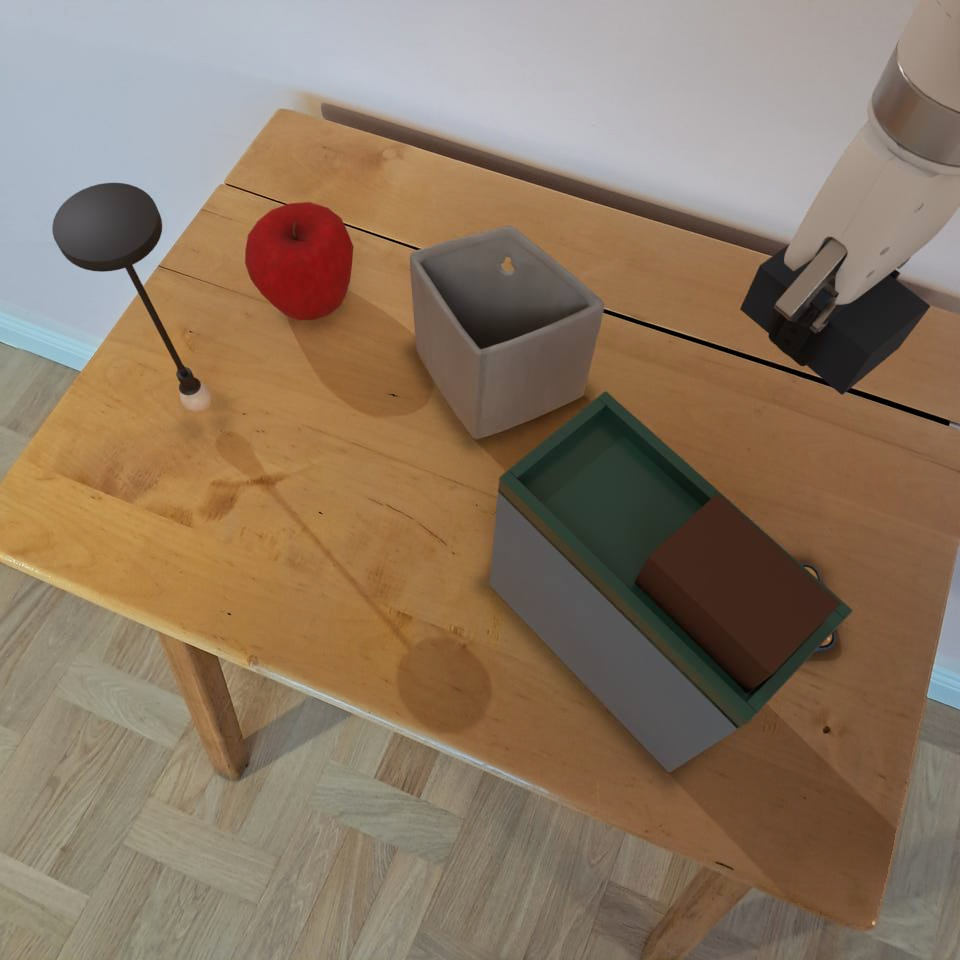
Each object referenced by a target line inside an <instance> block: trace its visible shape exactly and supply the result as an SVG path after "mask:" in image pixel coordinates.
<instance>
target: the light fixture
mask: <svg viewBox="0 0 960 960" xmlns="http://www.w3.org/2000/svg"><path fill="white" fill-rule="evenodd" d="M51 231H52V236H53V239H54V241H55V243H56V245H57V247H58V249H59V250H60V252H61V253H62V255H63V256H64V257H65V259H66V260H67V261H69V262H70V263H71V264H72V265H75V266H76V267H79V268H81V269H83V270H86V271H91V272H100V273H103V272H114V271H119V270H123V269H125V271H126V273H127V274H128V276H129V278H130V280H131V282H132V284H133V287H134V288H135V289H136V290H135V291H137V293H138V295H139V297H140V299H141V301H142V303H143V305H144V306H145V309H146V311H147V312H148V314H149V317H150V318H151V320H152V322H153V324H154V326H155V328H156V330H157V333H158V334H159V335H160V337H161V340H162V341H163V343H164V345H165V347H166V349H167V351H168V353H169V355H170V357H171V358H172V360H173V362H174V364H175V366H176V373H175V376H176V378H177V380H178V381H179V384H178V391H179V395H178V396H179V397H178V398H179V400H180V403H181V406H182V407H184V408H185V409H186V410H187V411H189V412H192V413H199V412H203V411H205V410H206V409H208V408H209V406H210V405H211V403H212V401H213V400H212V399H213V394H212V390H211V389H210V387H209V386H208V385H207V384H206V383H203V382H202V381H201V380H200V379H198V378H197V377H195V376H194V374H193V371H192V369H191V368H189V367H187V366H185V365H184V364H183V362H182V360H181V358H180V356H179V354H178V352H177V350H176V348H175V346H174V344H173V342H172V340H171V338H170V336H169V333H168V332H167V330H166V328H165V326H164V325H163V323H162V321H161V318H160V316H159V315H158V313H157V311H156V309H155V306H154V304H153V303H152V301H151V299H150V296H149V294H148V293H147V291H146V289H145V287H144V285H143V283H142V281H141V279H140V277H139V276H138V275H139V274H138V273H137V271H136V269H135V267H134V266H133V265H135V264H137V263H139V262H140V261H142V260H143V259H145V258H146V257H147V256H148V255H150V254H151V252H152V251H154V249H155V248H156V246H157V245H158V243H159V242H160V240H161V237H162V233H163V219H162V216H161V214H160V211H159V209H158V206H157V204H156V202H155V201H154V199H153V198H152V197H151V195H150V194H149V193H148V192H146V191H144V189H142V188H140V187H138V186H135V185H132V184H129V183H123V182H104V183H98V184H94V185H91V186H88V187H86V188H83V189H81V190H79V191H77V192H76V193H74V194H72V195H71V196H69V197H68V198H67V200H65V201H64V202H63V203H62V204H61V205H60V207H59V208H58V210H57V211H56V213H55V215H54V217H53V221H52V230H51Z"/></svg>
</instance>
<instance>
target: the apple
mask: <svg viewBox="0 0 960 960" xmlns="http://www.w3.org/2000/svg"><path fill="white" fill-rule="evenodd" d="M246 239H247V240H246V245H245V253H244V255H245V257H244V264H245V267H246V270H247V272H248V276H249V279H250V280H251V282H252V283H253V285H254V286H255V288H256V289H257V290H258V292H259V293H260V295H261V296H263V297H264V298H265V299H266V300H267V301H268V302H269V303H270V304H271V305H272V306H274V307H275V308H276V309H277V310H279V311H280V312H281V313H282V314H283V315H284V316H287V317H289V318H292V319H295V320H297V321H314V320H317V319H320V318H324V317H327V316H329V315H331V314H332V313H333V312H334V311H336V310H338V309H339V308H340V307H341V305H342V303H343V301H344V299H345V298H346V296H347V293H348V289H349V285H350V282H351V277H352V276H351V275H352V268H353V257H354V244H353V242H352V239H351V237H350V234H349V232H348V230H347V227H346V225H345V222H344V221H343V218H342V217H340V216H339V215H338V214H337V213H335V212H334V211H332V209H330V208H329V207H327V206H324V205H320V204H317V203H314V202H311V201H303V202H291V203H290V202H289V203H286V204H284V205H281V206H278V207H275V208H273V209H270V210H269V211H267V213H265V214H264V215H263V216H261V218H260V219H258V220H257V221H256V223H255V224H254V225H253V227H252V229H250V231H249V233H248V234H247V238H246Z"/></svg>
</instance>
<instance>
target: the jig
mask: <svg viewBox="0 0 960 960" xmlns="http://www.w3.org/2000/svg"><path fill="white" fill-rule="evenodd" d="M498 492H499V493H500V494H501V495H502V496H503V497H504V498H505V499H506V500H507V501H508V502H509V503H510V504H511V505H512V506H513V507H514V508H515V509H516V510H517V511H518V512H519V513H520V514H521V515H522V516H523V517H524V518H525V519H526V520H527V521H528V522H529V523H530V524H531V525H532V526H533V527H534V528H535V529H536V530H537V531H538V532H539V533H540V534H541V535H542V536H543V537H544V538H545V539H546V540H547V541H548V542H549V543H550V544H551V545H552V546H553V547H554V548H555V549H556V550H557V551H558V552H559V553H560V554H561V555H562V556H563V557H564V558H565V559H566V560H567V561H568V562H569V563H570V564H571V565H572V566H573V567H574V568H575V569H576V570H577V571H578V572H579V573H580V574H581V575H583V576H584V577H585V578H586V579H587V580H588V581H589V582H590V583H591V584H592V585H593V586H594V587H595V588H596V589H597V590H598V591H599V592H600V593H601V594H602V595H603V596H604V597H605V598H606V599H607V600H608V601H609V602H610V603H611V604H612V605H613V606H614V607H615V608H616V609H617V610H618V611H619V612H620V613H621V614H622V615H623V616H624V617H625V618H626V619H627V620H628V621H629V622H630V623H631V624H632V625H633V626H634V627H635V628H636V629H637V630H638V631H639V632H640V633H641V634H642V635H643V636H644V637H645V638H646V639H647V640H648V641H649V642H650V643H651V644H652V645H653V646H654V647H655V648H656V649H657V650H658V651H659V652H660V653H661V654H662V655H663V656H664V657H665V658H666V659H667V660H668V661H669V662H670V663H671V664H672V665H673V666H674V667H675V668H676V669H677V670H678V671H679V672H680V673H681V674H682V675H683V676H684V677H685V678H686V679H687V680H688V681H689V682H690V683H691V684H692V685H693V686H694V687H695V688H696V689H697V690H698V691H699V692H700V693H701V694H702V695H703V696H704V697H705V698H706V699H707V700H708V701H709V702H711V703H712V704H713V705H714V706H715V707H716V708H717V709H718V710H719V711H720V712H721V713H722V714H723V715H724V716H725V717H726V718H727V719H728V720H729V721H730V722H731V723H732V724H733V725H734V726H735V727H736V728H737V730H739V729H740V728H742V727H743V726H744V725H747V724H748V723H749V722H751V720H753V718H754V717H755V716H756V715H757V714H758V713H759V712H760V711H761V710H762V708H763V707H765V705H767V703H769V701H770V700H771V699H772V698H773V697H774V696H775V695H776V694H777V693H778V692H779V690H780V689H781V688H782V687H783V686H784V685H785V684H787V682H788V681H789V680H790V679H791V678H792V677H793V676H794V675H795V674H796V673H797V672H798V670H799V669H801V667H802V666H803V665H805V663H806V662H807V661H808V660H809V658H811V656H813V655H814V653H816V652H815V651H816V650H817V649H818V648H819V647H820V646H821V645H822V644H823V642H824V641H825V640H826V639H827V638H828V637H829V636H830V635H831V634H832V633H833V632H835V631H836V630H837V629H838V628H839V627H840V626H841V625H842V624H843V622H844V621H845V620H846V619H847V618H848V617H849V616H850V615H851V614H852V613H853V609H852V608H851V607H850V606H849V605H848V604H847V603H845V602H844V601H843V600H842V599H841V598H840V597H838V596H837V594H835V593H834V592H833V591H832V590H831V589H830V588H829V587H827V586H826V585H825V584H824V583H823V582H822V581H821V582H820V581H819V580H818V579H817V578H816V577H815V576H814V575H813V574H811V573H810V572H809V571H808V570H807V569H806V568H805V567H804V566H802V565H801V564H802V563H800V562H799V561H798V560H797V559H796V558H795V557H793V556H792V554H790V553H789V552H788V551H787V550H786V549H784V547H782V546H781V545H780V544H779V543H778V542H777V541H776V540H774V538H773V537H772V536H770V535H769V534H768V533H767V532H765V530H764V529H762V528H761V527H760V526H758V524H757V523H756V522H754V521H753V520H752V519H751V518H750V517H749V516H747V515H746V514H745V513H744V512H743V511H742V510H741V509H739V508H738V506H736V505H735V504H734V503H733V502H732V501H730V500H729V499H728V498H727V497H726V496H725V495H724V494H723V493H722V492H721V491H719V490H718V489H717V488H716V487H715V486H714V485H712V484H711V483H710V482H709V481H708V480H707V479H705V477H704V476H702V475H701V473H699V472H698V471H697V470H696V469H694V467H692V466H691V464H689V463H688V462H687V461H686V460H684V458H682V457H681V456H680V455H679V454H678V453H677V452H675V451H674V450H673V449H672V448H671V447H670V446H668V444H666V443H665V442H664V441H663V440H662V439H661V438H660V437H659V436H657V435H656V434H655V433H654V432H653V431H652V430H651V429H649V428H648V427H647V426H646V424H644V423H643V422H641V420H639V419H638V418H637V417H636V416H635V415H634V414H632V413H631V412H630V411H629V410H628V409H627V408H626V407H625V406H624V405H622V404H621V403H620V402H619V401H618V400H617V399H616V398H615V397H613V396H612V395H611V394H610V393H609V392H608V391H607V390H604V391H603V392H602V393H601V394H600V395H598V396H597V397H596V398H595V399H594V400H592V401H591V402H590V403H588V404H587V405H586V406H585V407H583V409H581V410H579V412H577V413H576V414H574V416H573V417H572V418H569V420H567V421H566V422H565V423H564V424H563V425H561V426H560V427H559V428H558V429H556V431H553V433H552V434H550V435H549V436H548V437H547V438H545V439H544V440H543V441H541V442H540V443H539V444H538V445H537V446H536V447H534V448H533V449H532V450H530V451H529V452H527V454H526V455H524V456H523V457H522V458H520V460H518V461H517V462H516V463H515V464H514V465H512V466H511V467H510V468H509V469H508V470H506V471H505V472H504V473H503V474H501V475H500V476H499V477H498V487H497V493H498ZM717 493H719V494H720V495H721V496H722V497H723V498H724V499H725V500H727V501H728V502H729V503H730V504H731V505H732V506H733V507H734V508H736V509H737V510H738V511H739V512H740V513H741V514H742V515H743V516H744V517H746V518H747V519H748V520H749V521H750V522H751V523H752V524H753V525H754V526H756V527H757V528H758V529H759V530H760V531H761V532H762V533H763V534H765V535H766V536H767V537H768V538H769V539H770V540H771V541H772V542H773V543H775V544H776V545H777V546H778V547H779V548H780V549H781V550H782V551H783V552H785V553H786V554H787V555H788V556H789V557H790V558H791V559H792V560H793V561H795V562H796V563H797V564H798V565H799V566H800V567H801V568H802V569H804V570H805V571H806V572H807V573H808V574H809V575H810V576H811V577H812V578H814V579H815V580H816V581H817V582H818V583H819V584H820V585H821V586H822V587H824V588H825V589H826V590H827V591H828V592H829V593H830V594H831V595H833V596H834V597H835V598H836V599H837V600H838V601H839V602H840V605H839V606H838V607H837V608H836V609H835V610H834V611H833V612H832V613H831V614H830V615H829V616H828V617H827V618H826V619H825V620H824V621H823V622H822V623H821V624H820V626H819V627H818V628H817V629H816V630H815V631H814V632H813V633H812V634H811V635H810V636H809V637H808V638H807V639H806V640H805V641H804V642H803V643H802V644H801V645H800V646H799V647H798V648H797V649H796V650H795V652H794V653H793V654H792V655H791V656H790V657H789V658H788V659H787V660H786V661H785V662H784V663H783V664H782V665H781V666H780V667H779V668H778V669H777V670H776V671H775V672H774V673H773V674H772V675H771V676H770V677H768V678H767V679H766V680H764V681H763V682H761V683H760V684H759V685H757V686H756V687H755V688H753V689H752V690H751V691H749V692H748V693H747V692H745V691H744V690H743V689H742V688H741V687H740V686H739V685H738V684H737V683H736V682H735V681H734V680H733V679H732V678H731V677H730V676H729V675H728V674H727V673H726V672H725V671H724V670H723V669H722V668H721V667H720V666H719V665H718V664H717V663H716V662H715V661H714V660H713V659H712V658H711V657H710V656H709V655H708V654H707V653H706V652H705V651H704V650H703V649H701V648H700V647H699V646H698V645H697V644H696V643H695V642H694V641H693V640H692V639H691V638H690V637H689V636H688V635H687V634H686V633H685V632H684V631H683V630H682V629H681V628H680V627H679V626H678V625H677V624H676V623H675V622H674V621H673V620H672V619H671V618H670V617H669V616H668V615H667V614H666V613H665V612H664V611H663V610H662V609H661V608H660V607H659V606H658V605H657V604H656V603H654V602H653V601H652V600H651V599H650V598H649V597H648V596H647V595H646V594H645V593H644V592H643V591H642V590H641V589H640V588H639V587H638V586H637V585H636V584H635V580H636V578H637V576H638V574H639V573H640V571H641V569H642V567H643V565H644V563H645V562H646V560H647V558H648V556H649V555H650V554H651V553H652V552H653V551H654V550H655V549H656V548H657V547H659V546H660V545H661V544H662V543H663V542H664V541H665V540H666V539H667V538H668V537H670V536H671V535H672V534H673V533H674V532H675V531H676V530H677V529H678V528H679V527H681V526H682V525H683V524H684V523H685V522H686V521H687V520H688V519H689V518H690V517H692V516H693V515H694V514H695V513H696V512H697V511H698V510H699V509H700V508H701V507H703V506H704V505H705V504H706V503H707V502H708V501H709V500H710V499H711V498H712V497H714V496H715V495H716V494H717Z"/></svg>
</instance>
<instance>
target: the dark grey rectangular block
mask: <svg viewBox="0 0 960 960" xmlns="http://www.w3.org/2000/svg"><path fill="white" fill-rule="evenodd" d="M789 245H790V243H788V244H787V245H785V246H784V247H783V248H782V249H780V250H779V251H778V252H776V253H774V255H772V256H770V257H769V258H767V259H766V260H765V261H764V262H763V263H761V264H759V265H758V266H759V267H758V268H757V271H756V273H755V275H754V277H753V280H752V281H751V283H750V286H749V288H748V290H747V293H746V295H745V297H744V300H743V301H742V304H741V306H740V308H739V310H740V311H741V312H742V313H743V314H745V315H746V316H747V317H748V318H750V319H751V320H752V321H753V322H754V323H755V324H757V325H758V326H759V327H760V328H761V329H762V330H764V331H765V332H766V333H767V334H769V333H770V331H771V329H772V327H773V325H774V323H775V321H776V319H777V317H778V315H779V313H780V312H779V311H777V310H776V309H775V308H774V305H775V304H776V302H777V301H778V300H779V299H780V297H781V296H782V295H783V294H784V293H785V292H786V290H787V289H788V288H789V287H790V286H791V285H792V284H793V282H794V281H795V280H796V279H797V278H798V277H799V275H800V274H801V273H802V272H803V271H804V270H805V268H806V267H807V266H808V265H809V264H810V263H811V262H812V260H813V259H814V258H813V259H812V260H810V261H809V262H807V263H806V264H804V265H803V266H801V267H800V268H798V269H797V270H795V271H793V270H791V269H790V268H789V267H788V266H786V265H785V263H784V257H785V253H786V251H787V249H788V247H789ZM837 272H838V271H837ZM837 272H836V273H837ZM836 273H835V274H834V276H835V277H836ZM830 299H831V296H830V295H829V294H827V293H826V292H825V291H824V290H822V289H821V290H820V291H819V292H818V294H817V295H816V296H815V297H814V298H813V299H812V301H811V303H813V304H814V305H815V306H816V307H818V308H819V309H820V310H821V311H822V309H823V308H824V307H825V305H826V304H827V303H828V301H829V300H830ZM930 308H931V305H930V304H929V303H928V302H926V301H925V300H924V299H922V298H921V297H920V296H918V295H917V294H916V293H914V292H913V291H912V290H910V289H909V288H908V287H907V286H905V285H904V284H903V283H901V282H900V281H899V280H897V279H895V278H893V277H892V276H891V275H887V276H886V277H885V278H883V279H882V280H881V281H880V282H878V283H877V284H876V285H874V286H873V287H872V288H871V289H869V290H868V291H867V292H865V293H864V294H863V295H861V296H860V297H859V298H857V299H856V300H854V301H853V302H851V303H848V304H842V306H841V307H840V308H839V309H838V311H837V312H836V313H835V315H834V316H833V317H832V318H831V320H830V321H829V322H828V324H829V325H830V326H831V327H832V328H831V329H830V331H829V333H828V334H827V336H826V337H825V339H824V341H823V342H822V344H821V346H820V347H819V349H818V350H817V352H816V354H815V355H814V357H813V358H812V360H811V361H810V362H809V363H808V364H807V365H806V367H807V368H809V369H810V370H812V372H814V373H815V374H816V375H817V376H819V378H821V379H822V380H823V381H824V382H825V383H827V384H828V385H829V386H830V387H832V388H833V389H834V390H835V391H836V392H837V393H839V395H841V396H842V395H844V394H845V393H847V392H848V391H849V390H851V388H853V387H854V386H855V385H856V384H858V383H859V382H860V381H861V380H863V379H864V378H865V377H866V376H867V375H869V373H871V372H872V371H874V369H876V368H877V367H878V366H879V365H881V364H882V363H883V362H884V361H885V360H887V359H888V358H890V356H892V355H893V354H894V353H895V352H896V351H897V350H898V349H900V347H901V346H902V345H903V344H904V342H905V341H906V340H907V338H908V337H909V336H910V334H911V333H912V331H914V329H915V327H916V326H917V325H918V324H919V323H920V321H921V320H922V318H924V316H925V315H926V313H927V312H928V311H929V309H930Z"/></svg>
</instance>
